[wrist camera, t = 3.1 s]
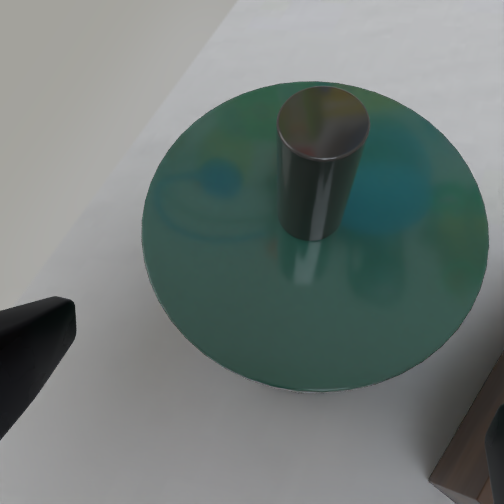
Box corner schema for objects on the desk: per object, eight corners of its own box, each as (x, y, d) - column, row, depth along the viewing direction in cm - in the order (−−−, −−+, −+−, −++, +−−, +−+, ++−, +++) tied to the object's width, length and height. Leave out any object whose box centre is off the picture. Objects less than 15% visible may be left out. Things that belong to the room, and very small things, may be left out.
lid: (549, 272, 15) (717, 180, 9) (254, 473, 13) (235, 513, 7) (343, 59, 19) (370, -91, 14) (101, 186, 18) (15, 73, 12)
